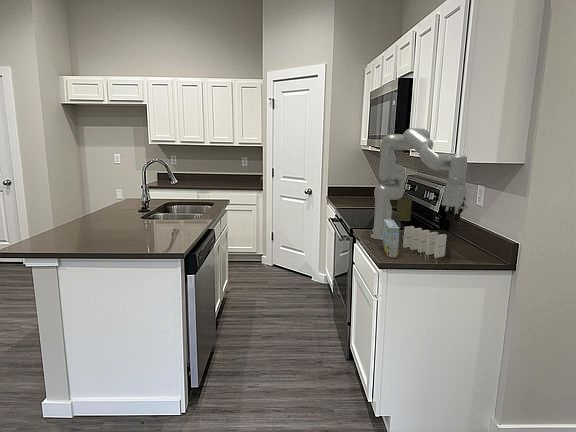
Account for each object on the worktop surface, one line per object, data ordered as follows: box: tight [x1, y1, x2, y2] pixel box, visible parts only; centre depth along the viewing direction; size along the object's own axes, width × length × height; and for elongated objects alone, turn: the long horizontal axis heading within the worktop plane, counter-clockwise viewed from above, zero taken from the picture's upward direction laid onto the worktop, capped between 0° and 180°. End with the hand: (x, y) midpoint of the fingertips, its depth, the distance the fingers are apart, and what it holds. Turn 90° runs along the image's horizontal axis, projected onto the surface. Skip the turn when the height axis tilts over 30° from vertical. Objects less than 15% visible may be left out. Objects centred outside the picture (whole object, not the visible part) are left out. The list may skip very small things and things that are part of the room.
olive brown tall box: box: [395, 191, 413, 222], centre depth 292 cm, size 11×10×20 cm
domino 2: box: [409, 227, 423, 251], centre depth 211 cm, size 1×6×11 cm, turn 120°
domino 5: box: [433, 233, 448, 259], centre depth 198 cm, size 1×6×11 cm, turn 120°
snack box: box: [382, 218, 401, 258], centre depth 204 cm, size 21×6×15 cm, turn 174°
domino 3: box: [417, 229, 431, 253], centre depth 207 cm, size 1×6×11 cm, turn 120°
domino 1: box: [402, 225, 415, 249], centre depth 215 cm, size 1×6×11 cm, turn 120°
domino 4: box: [424, 231, 439, 256], centre depth 202 cm, size 1×6×11 cm, turn 120°
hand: (452, 220), depth 190 cm, fingers open, 3 cm apart
